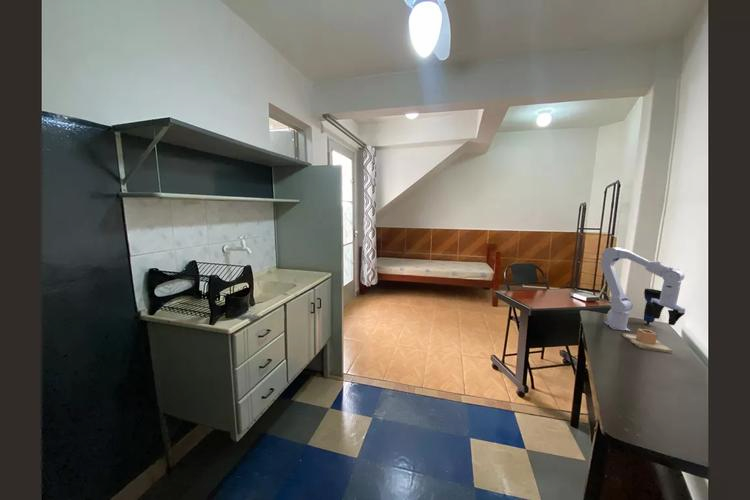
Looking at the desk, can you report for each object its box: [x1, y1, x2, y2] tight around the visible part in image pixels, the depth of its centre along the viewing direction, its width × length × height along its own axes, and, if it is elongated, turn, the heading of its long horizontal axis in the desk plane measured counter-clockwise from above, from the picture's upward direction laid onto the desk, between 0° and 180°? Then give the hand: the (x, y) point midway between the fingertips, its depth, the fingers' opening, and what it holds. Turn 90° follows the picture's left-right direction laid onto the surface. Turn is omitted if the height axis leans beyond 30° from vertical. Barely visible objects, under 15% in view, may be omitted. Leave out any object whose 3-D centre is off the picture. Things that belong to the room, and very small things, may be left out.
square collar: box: [635, 328, 658, 344], centre depth 133 cm, size 5×5×5 cm
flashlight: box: [643, 288, 662, 325], centre depth 156 cm, size 8×8×20 cm
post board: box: [622, 332, 673, 354], centre depth 133 cm, size 14×12×6 cm
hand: (663, 321), depth 135 cm, fingers open, 7 cm apart
